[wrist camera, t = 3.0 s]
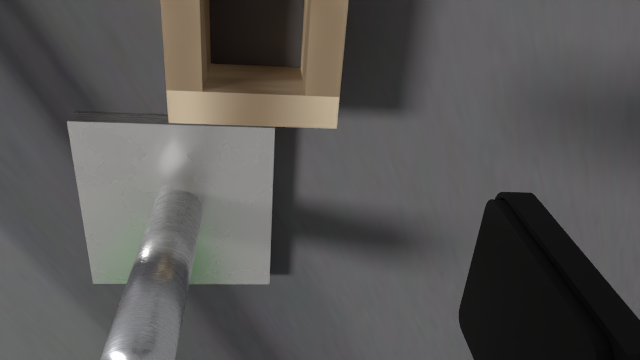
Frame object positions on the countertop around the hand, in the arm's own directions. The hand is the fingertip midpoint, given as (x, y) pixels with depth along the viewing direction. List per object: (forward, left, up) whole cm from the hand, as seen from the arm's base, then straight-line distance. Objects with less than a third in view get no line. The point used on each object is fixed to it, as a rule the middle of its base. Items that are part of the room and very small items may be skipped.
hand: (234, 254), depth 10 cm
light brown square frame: (0, 0, -18) cm, 18 cm away
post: (+4, +10, -18) cm, 21 cm away
